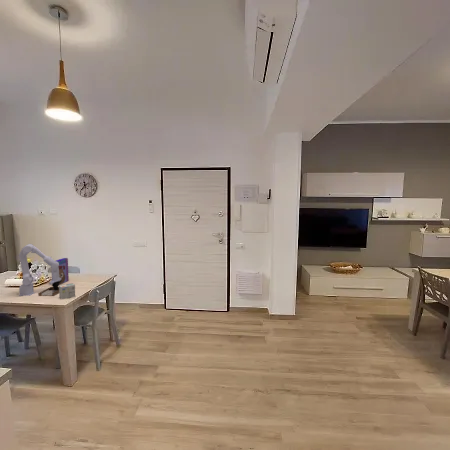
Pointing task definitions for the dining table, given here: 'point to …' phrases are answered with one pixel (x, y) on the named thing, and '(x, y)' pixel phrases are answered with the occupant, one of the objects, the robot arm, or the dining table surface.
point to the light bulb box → (67, 291)
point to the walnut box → (50, 289)
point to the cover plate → (48, 292)
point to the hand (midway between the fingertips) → (55, 289)
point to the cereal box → (63, 270)
